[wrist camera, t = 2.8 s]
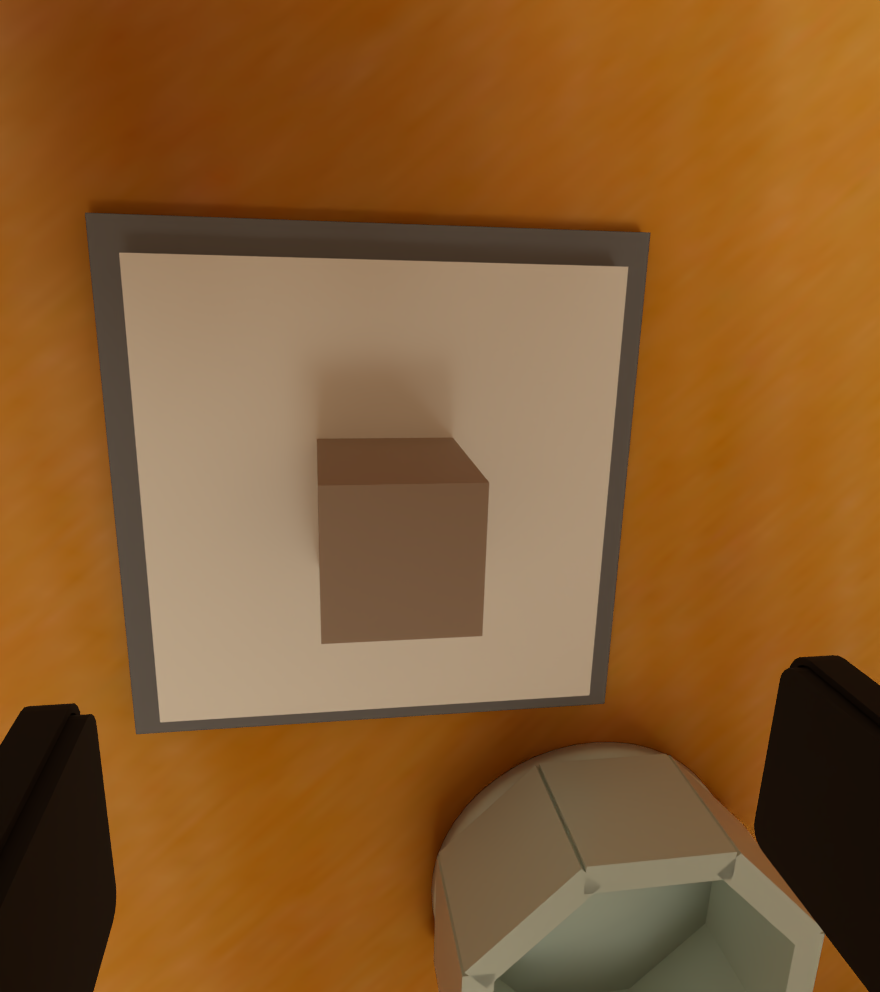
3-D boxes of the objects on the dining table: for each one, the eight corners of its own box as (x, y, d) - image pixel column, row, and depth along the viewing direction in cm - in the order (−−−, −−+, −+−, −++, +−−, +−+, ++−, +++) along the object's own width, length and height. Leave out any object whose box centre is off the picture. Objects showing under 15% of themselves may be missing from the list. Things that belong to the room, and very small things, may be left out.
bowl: (743, 731, 30) (844, 841, 24) (704, 975, 33) (785, 1121, 28) (435, 753, 28) (466, 878, 22) (428, 1010, 31) (453, 1175, 26)
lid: (615, 266, 23) (712, 267, 18) (579, 680, 27) (649, 789, 22) (127, 253, 21) (60, 249, 16) (165, 705, 25) (123, 834, 19)
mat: (642, 233, 24) (650, 232, 23) (598, 694, 28) (604, 703, 28) (91, 214, 21) (85, 212, 21) (139, 723, 26) (136, 734, 25)
